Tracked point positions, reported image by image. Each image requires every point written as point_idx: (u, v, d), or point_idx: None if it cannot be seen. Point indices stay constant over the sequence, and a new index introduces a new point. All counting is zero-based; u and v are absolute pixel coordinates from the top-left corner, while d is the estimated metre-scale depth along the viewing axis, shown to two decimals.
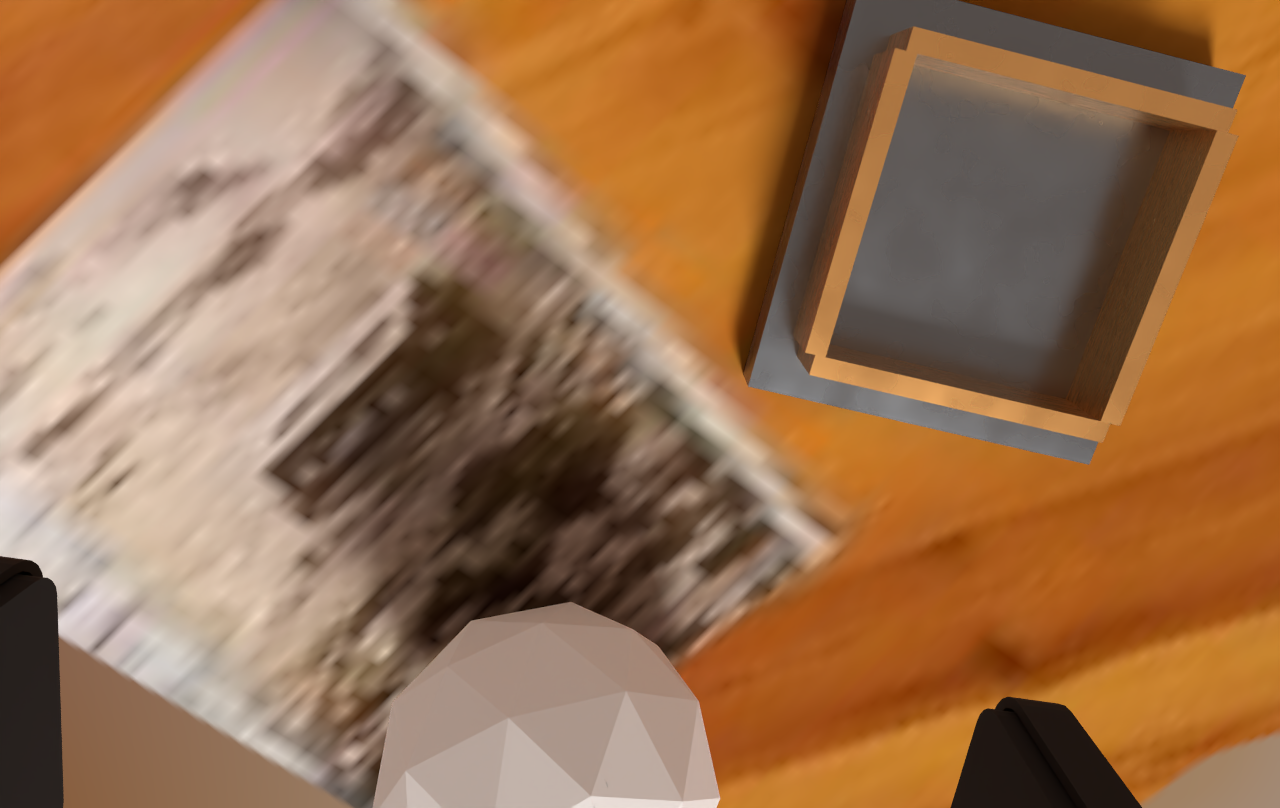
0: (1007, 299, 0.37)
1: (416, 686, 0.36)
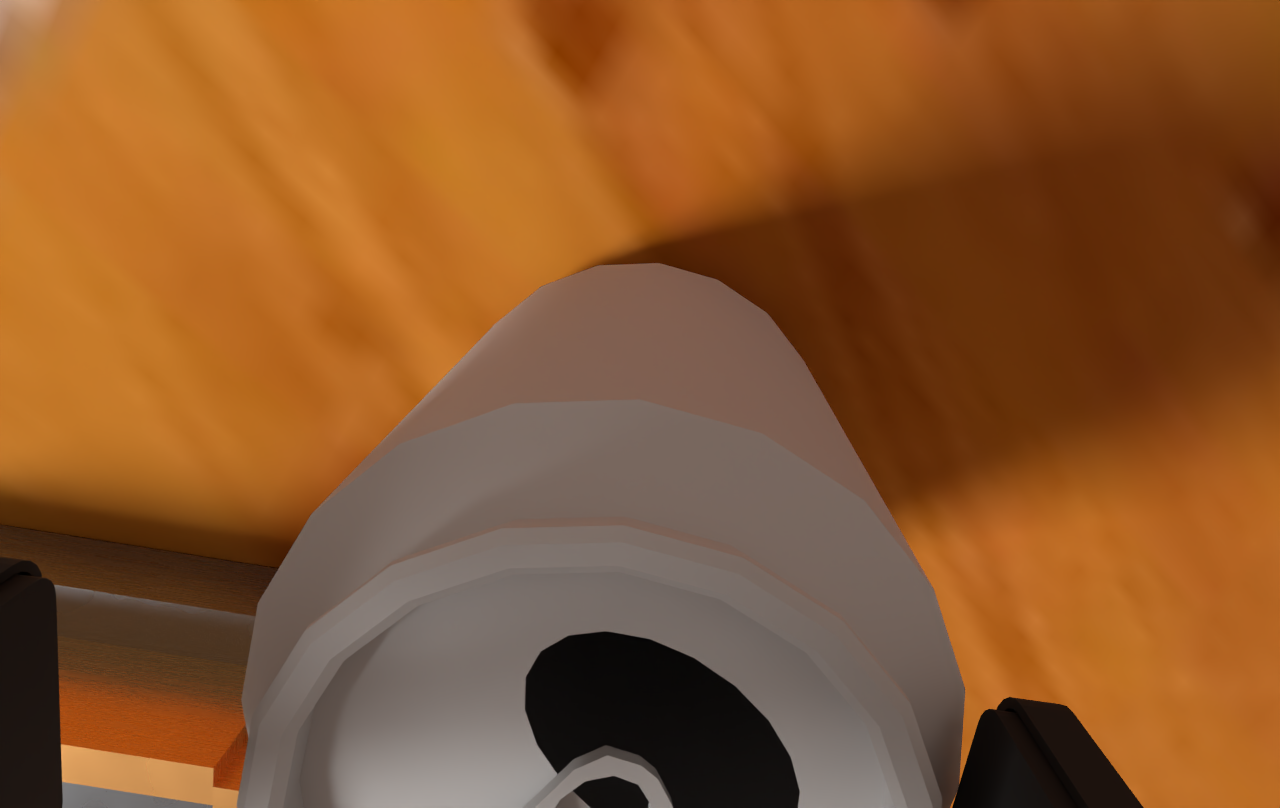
0: None
1: None
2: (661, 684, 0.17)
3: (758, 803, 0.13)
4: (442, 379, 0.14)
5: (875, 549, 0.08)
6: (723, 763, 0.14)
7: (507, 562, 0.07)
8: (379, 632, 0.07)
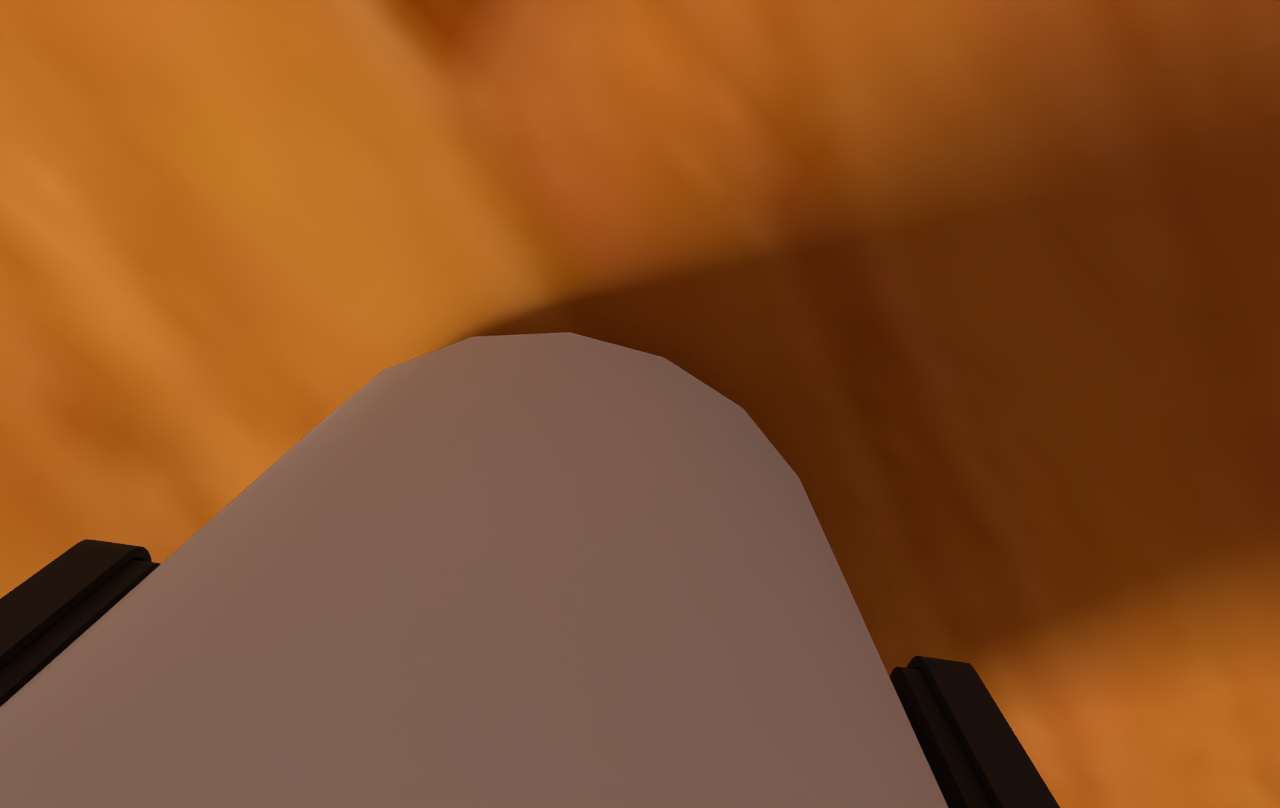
0: None
1: None
2: None
3: None
4: (118, 602, 0.07)
5: None
6: None
7: None
8: None
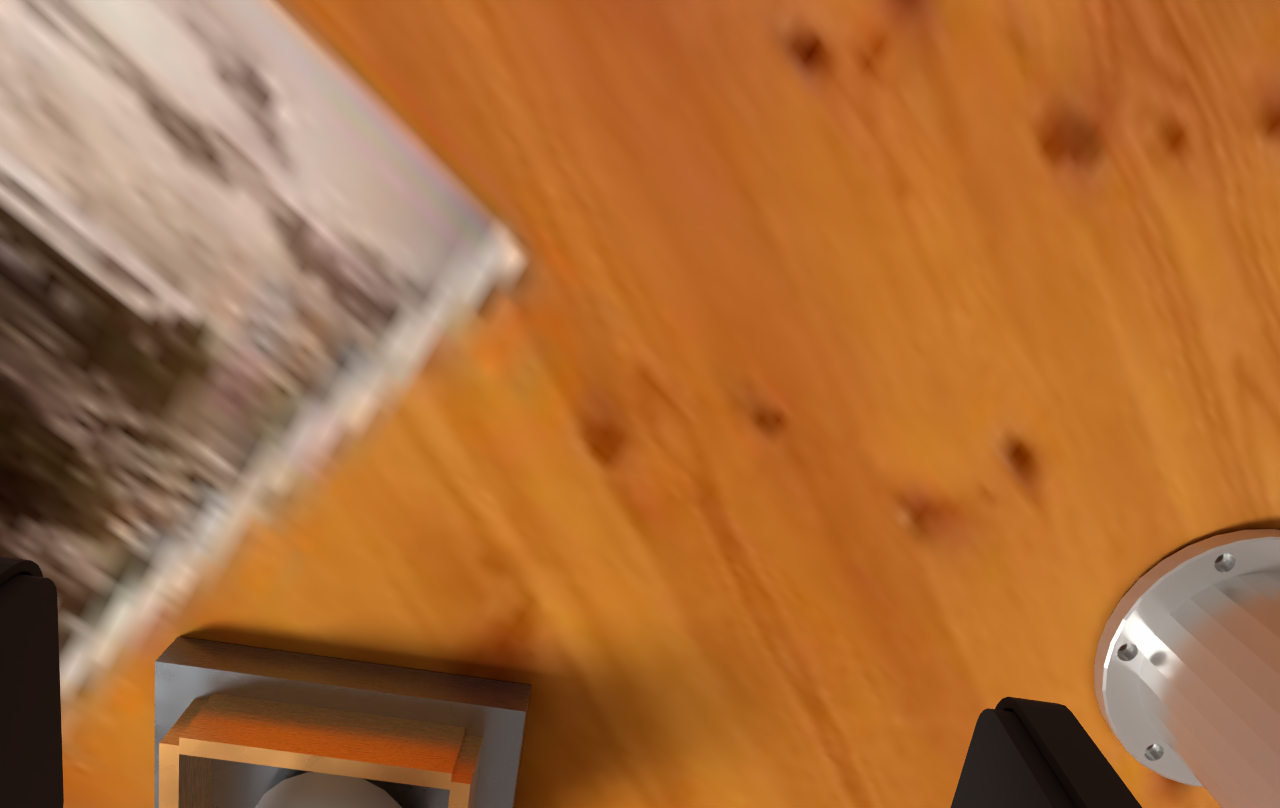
0: None
1: None
2: None
3: None
4: None
5: None
6: None
7: None
8: None
